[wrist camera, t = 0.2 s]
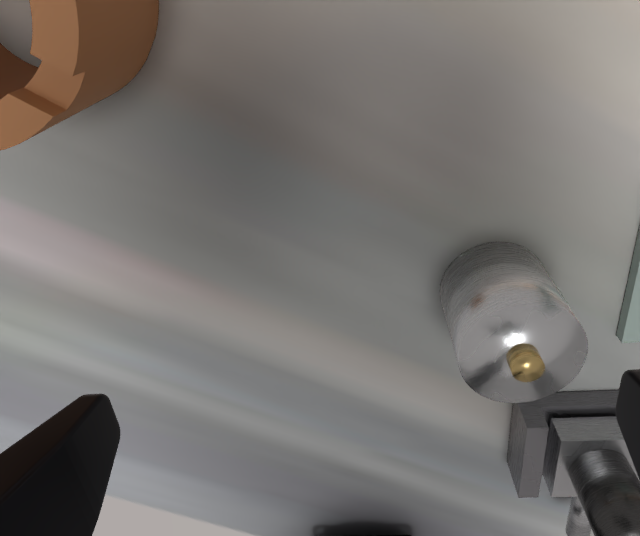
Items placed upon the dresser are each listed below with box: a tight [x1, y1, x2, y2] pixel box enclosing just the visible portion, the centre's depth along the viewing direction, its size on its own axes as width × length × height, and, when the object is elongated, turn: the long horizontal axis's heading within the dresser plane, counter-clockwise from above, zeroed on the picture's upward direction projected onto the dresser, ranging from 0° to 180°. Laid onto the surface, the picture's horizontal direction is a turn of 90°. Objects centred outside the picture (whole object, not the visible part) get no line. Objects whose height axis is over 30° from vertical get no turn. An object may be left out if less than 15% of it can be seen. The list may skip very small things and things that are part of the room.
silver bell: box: [440, 242, 588, 403], centre depth 22 cm, size 5×5×6 cm
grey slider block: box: [543, 416, 640, 536], centre depth 26 cm, size 8×4×6 cm, turn 5°
